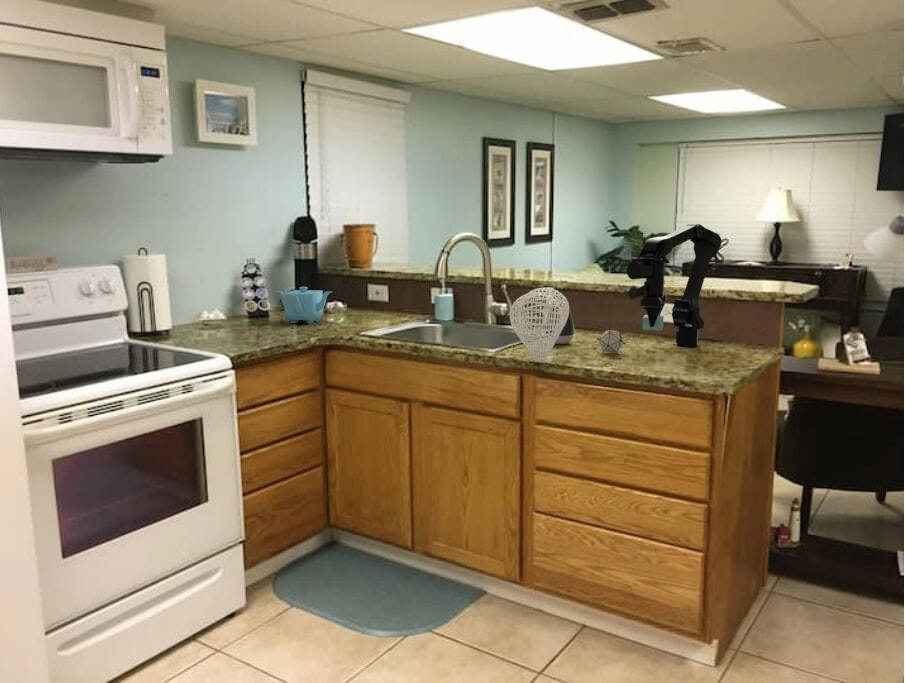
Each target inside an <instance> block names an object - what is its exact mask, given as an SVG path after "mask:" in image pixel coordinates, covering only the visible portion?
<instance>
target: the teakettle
mask: <svg viewBox="0 0 905 683" xmlns="http://www.w3.org/2000/svg"><path fill="white" fill-rule="evenodd" d="M298 288H299V289H296V290H292V291H289V292H285V293H284V292H283V291H281V290H274V292H275V293H277V294H278V295H279V297H280V299H281V302H282V303H281V304H282V305H283V307H284V321H290V323H297V324H298V322H299V321H298V320H303V321H305V323H306V324H307V323H308V324H307V325H312V324H311V323H314V322H313V321H317V322H320V320H319V318H321V317H323V316H324V307H325V305H326V302H327V299H328V296H329V295H330V294H332V293H333V291H331V290H330V291H325V292H324V293H323V290H320V289H319V290H313V289H312V290H310V289H309V290H308V287H307V286H300V287H298ZM290 323H289V324H290ZM314 324H315V323H314Z"/></svg>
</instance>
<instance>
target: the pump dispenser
mask: <svg viewBox="0 0 905 683" xmlns="http://www.w3.org/2000/svg"><path fill="white" fill-rule="evenodd" d="M553 302H554V301H553ZM558 302H559V301H558ZM554 303H555V302H554ZM561 303H562V302H561ZM553 305H555V304H553ZM560 305H561V304H560ZM563 306H564V305H563ZM554 307H555V306H554ZM561 307H562V306H561ZM556 308H557V309H558V307H556ZM564 308H565V307H564ZM566 309H567V307H566ZM564 310H565V309H564ZM551 311H552V307H551ZM553 312H554V308H553ZM556 312H557V310H556ZM563 313H564V311H563ZM547 314H548V318H549V313H547ZM553 315H554V314H553V313H552V318H553ZM565 316H566V315H565ZM550 318H551V313H550ZM556 318H557V314H556ZM559 319H560V315H559ZM548 320H549V319H548ZM556 321H557V320H555V324H556ZM550 323H551V319H550ZM552 323H553V320H552ZM552 323H551V324H552ZM558 323H559V321H558ZM545 324H548V323H547V319H545ZM558 327H559V326H558ZM554 328H555V326H554ZM545 329H546V326H545ZM547 329H548V326H547ZM549 329H550V326H549ZM551 329H552V326H551ZM550 333H552V330H551V331H550ZM554 333H555V332H554ZM546 334H548V331H546ZM574 335H575V325H574V319H573V316H572V312H571V309H570V308H569V316H568V319H567V321H566V324H565V326H564V328H563V329H562V331H561V333H560V335H559V337H558V339H557V340H556V342H555V344H565V345H568V344H569V343H570V342H572V340H573V338H574ZM550 336H551V335H550ZM545 337H546V338H548V336H545ZM552 337H553V336H552ZM548 340H549V339H548ZM551 341H552V340H551ZM555 344H554V345H555Z"/></svg>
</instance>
